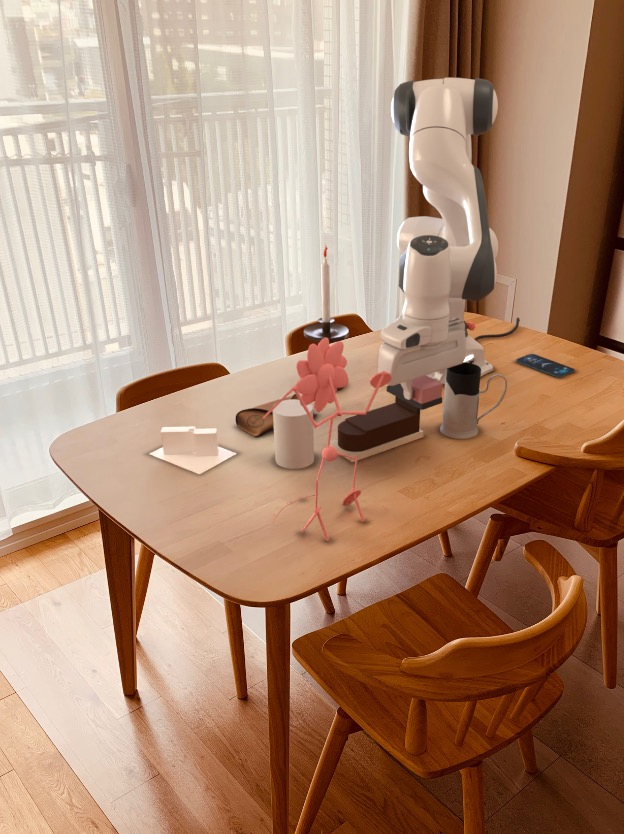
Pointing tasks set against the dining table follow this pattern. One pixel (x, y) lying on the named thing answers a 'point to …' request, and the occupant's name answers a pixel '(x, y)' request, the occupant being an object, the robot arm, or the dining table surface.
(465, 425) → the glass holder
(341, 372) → the figurine
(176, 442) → the napkin holder
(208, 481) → the dining table surface
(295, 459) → the cup
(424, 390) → the two-tone stepped block
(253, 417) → the sunglasses case
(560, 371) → the smartphone
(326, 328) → the candlestick
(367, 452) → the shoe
